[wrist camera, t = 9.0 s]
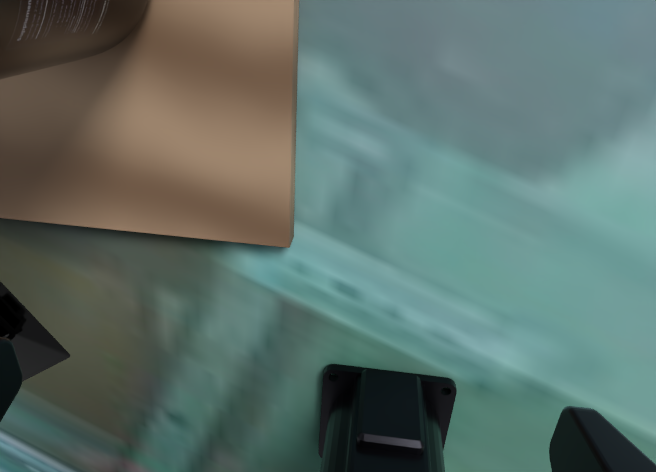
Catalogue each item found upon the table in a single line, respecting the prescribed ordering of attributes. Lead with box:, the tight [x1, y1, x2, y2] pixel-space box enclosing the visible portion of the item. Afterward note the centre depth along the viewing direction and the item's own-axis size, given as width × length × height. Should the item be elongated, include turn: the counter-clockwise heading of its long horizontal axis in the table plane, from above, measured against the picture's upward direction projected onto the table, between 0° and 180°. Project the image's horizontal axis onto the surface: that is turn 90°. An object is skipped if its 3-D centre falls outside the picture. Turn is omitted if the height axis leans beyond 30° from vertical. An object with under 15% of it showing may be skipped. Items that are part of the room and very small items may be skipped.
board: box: [0, 0, 299, 248], centre depth 18 cm, size 16×16×1 cm
